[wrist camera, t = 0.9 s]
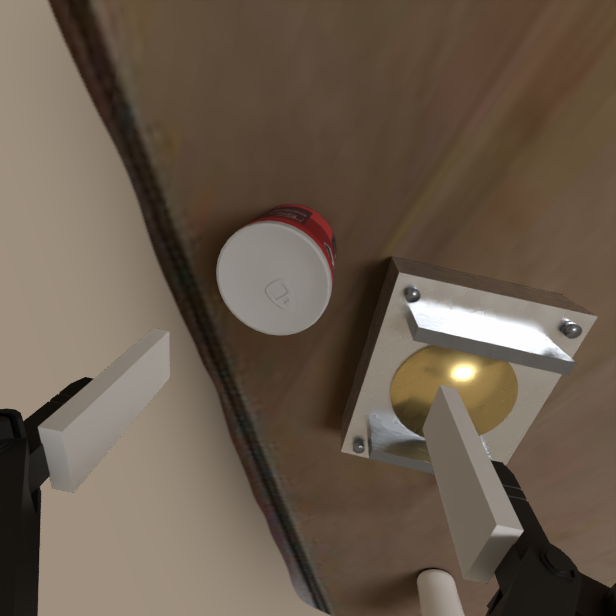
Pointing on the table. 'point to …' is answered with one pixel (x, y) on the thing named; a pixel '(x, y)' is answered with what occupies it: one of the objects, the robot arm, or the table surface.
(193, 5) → the table surface
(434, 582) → the drinking glass
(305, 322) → the canned food
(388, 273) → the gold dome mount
